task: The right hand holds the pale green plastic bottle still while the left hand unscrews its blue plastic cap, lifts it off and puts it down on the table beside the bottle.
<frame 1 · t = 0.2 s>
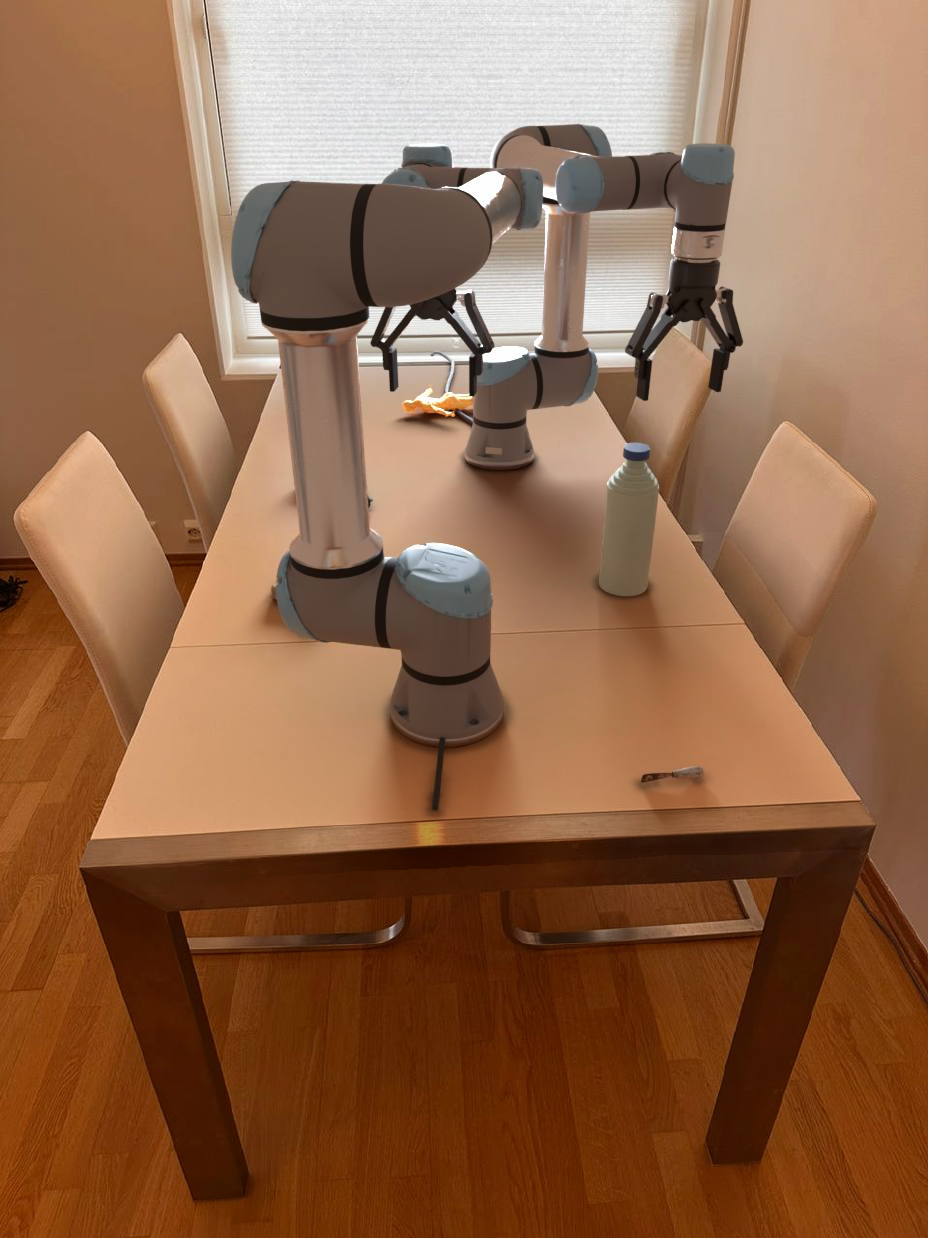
left hand: (433, 391, 149), 28 cm above the table, tool pointing down, fingers open, 13 cm apart
right hand: (678, 394, 148), 28 cm above the table, tool pointing down, fingers open, 13 cm apart
handgun: (337, 495, 182), on the table
putty knife: (671, 781, 109), on the table
bottle: (622, 584, 150), on the table
stone: (310, 598, 147), on the table
human figure: (450, 410, 226), on the table
cap: (636, 449, 138), point 24 cm above the table, screwed on, not yet turned
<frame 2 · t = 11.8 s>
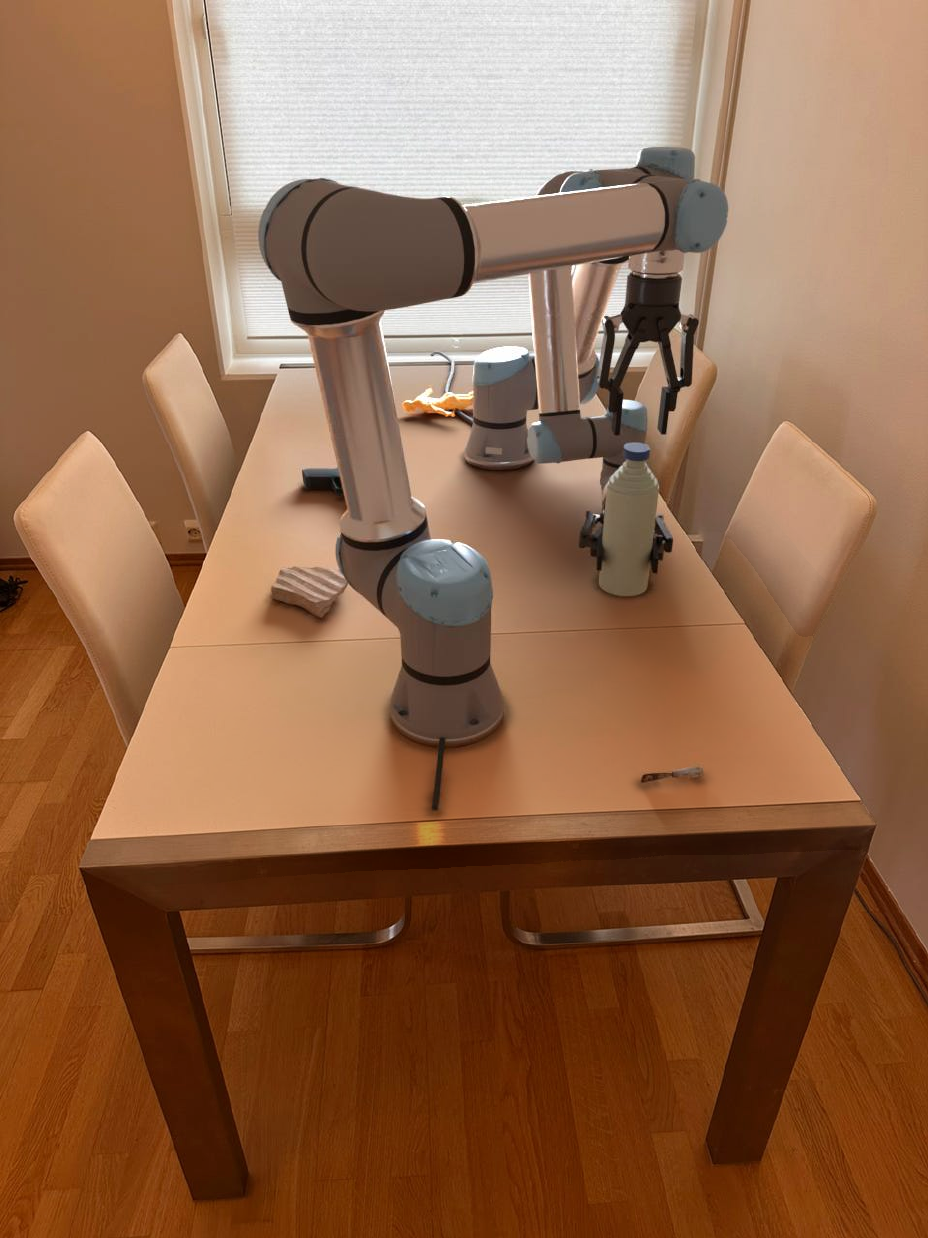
left hand: (638, 431, 136), 27 cm above the table, tool pointing down, fingers open, 6 cm apart
right hand: (627, 564, 143), 6 cm above the table, tool horizontal, fingers closed on bottle, 8 cm apart
bottle: (622, 584, 150), on the table, touching right hand
everything else where it was.
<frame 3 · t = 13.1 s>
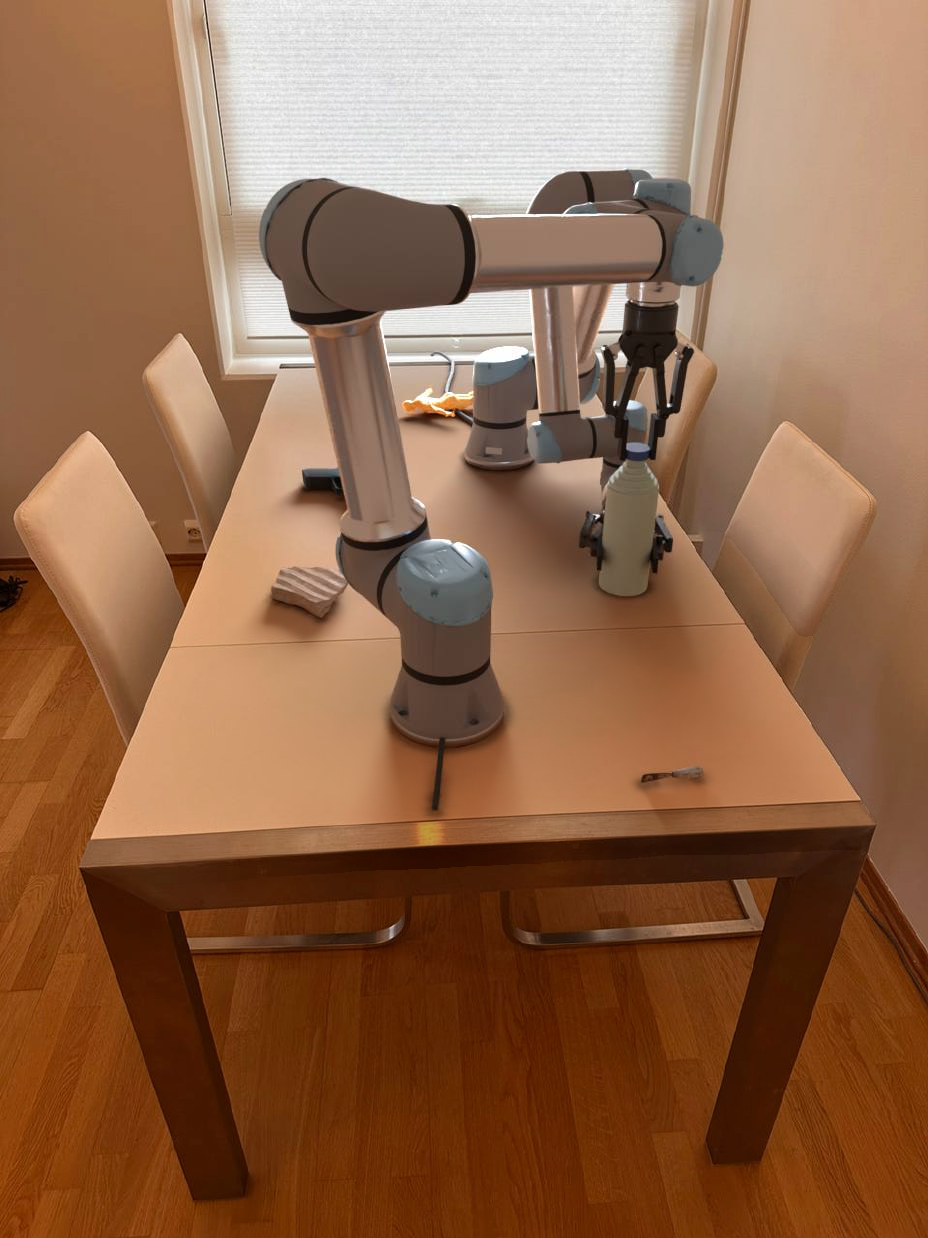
left hand: (636, 456, 138), 23 cm above the table, tool pointing down, fingers closed on cap, 4 cm apart
right hand: (627, 564, 143), 6 cm above the table, tool horizontal, fingers closed on bottle, 8 cm apart
bottle: (622, 584, 150), on the table, touching right hand
cap: (636, 449, 138), point 24 cm above the table, screwed on, not yet turned, touching left hand
everything else where it was.
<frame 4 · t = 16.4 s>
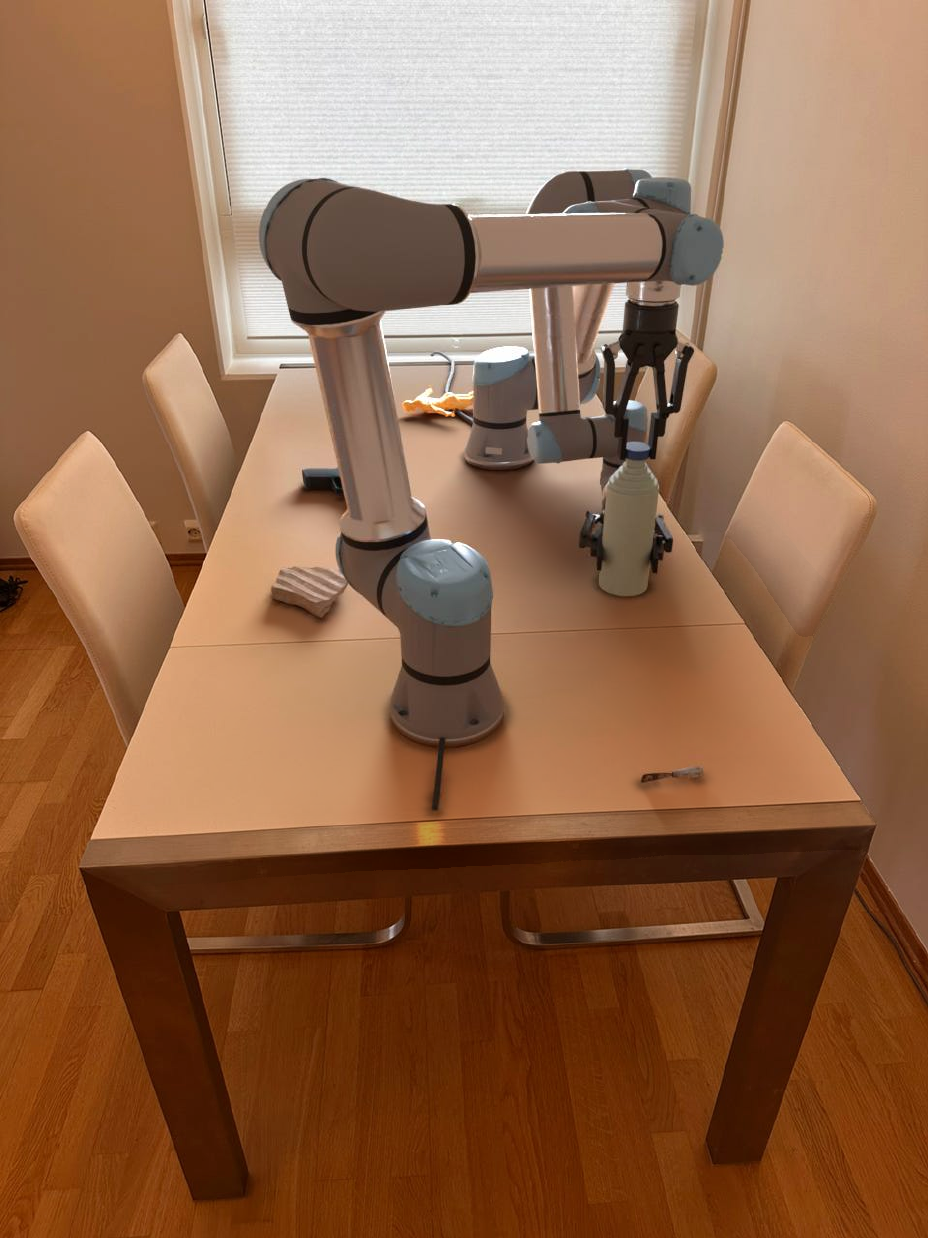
left hand: (636, 456, 138), 23 cm above the table, tool pointing down, fingers closed on cap, 4 cm apart
right hand: (627, 564, 143), 6 cm above the table, tool horizontal, fingers closed on bottle, 8 cm apart
bottle: (622, 584, 150), on the table, touching right hand
cap: (636, 448, 138), point 24 cm above the table, turned 95° so far, risen 0.1 cm, still on its thread, touching left hand
everything else where it was.
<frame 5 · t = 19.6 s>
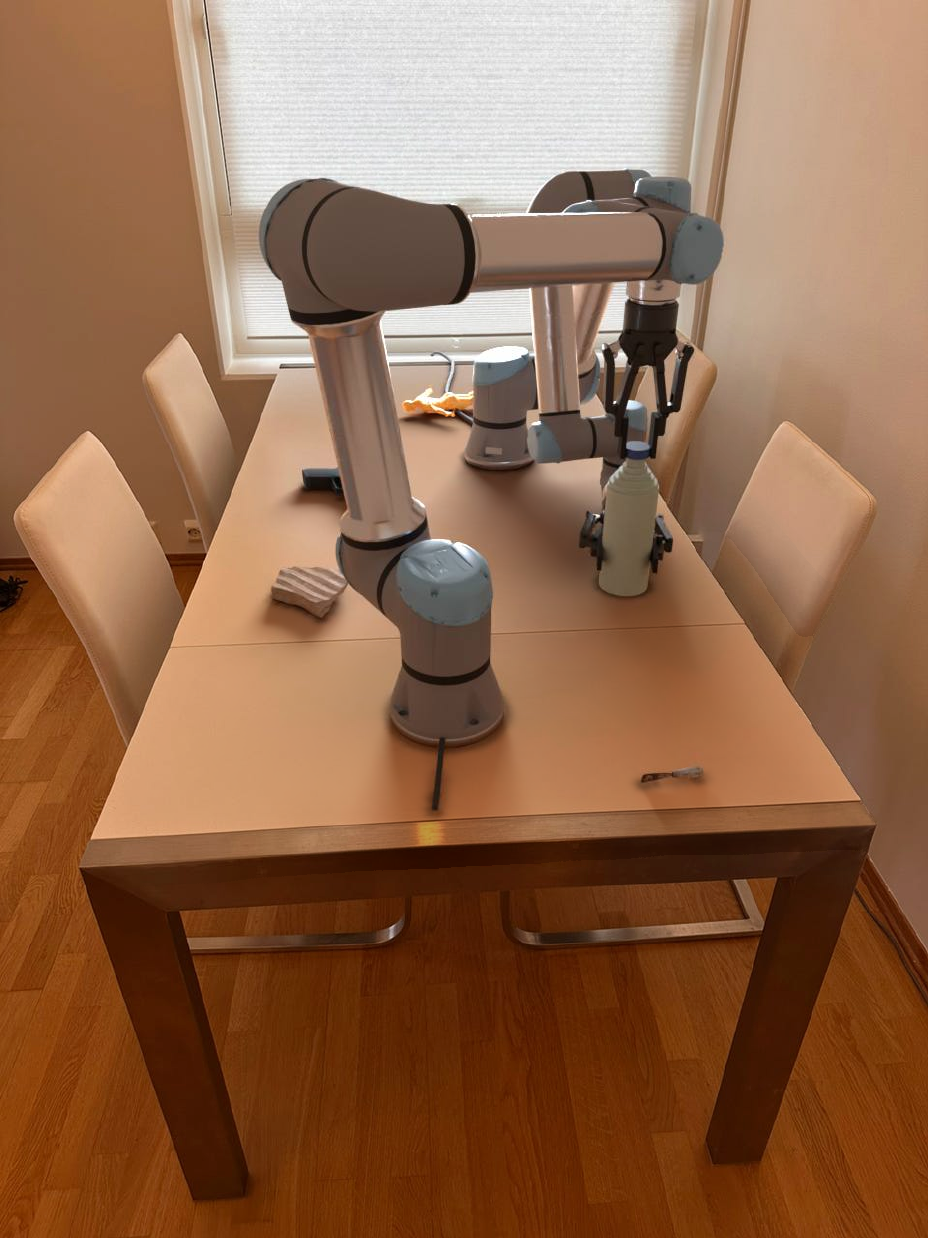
left hand: (636, 455, 138), 23 cm above the table, tool pointing down, fingers closed on cap, 4 cm apart
right hand: (627, 564, 143), 6 cm above the table, tool horizontal, fingers closed on bottle, 8 cm apart
bottle: (622, 584, 150), on the table, touching right hand
cap: (637, 447, 138), point 24 cm above the table, turned 190° so far, risen 0.2 cm, still on its thread, touching left hand
everything else where it was.
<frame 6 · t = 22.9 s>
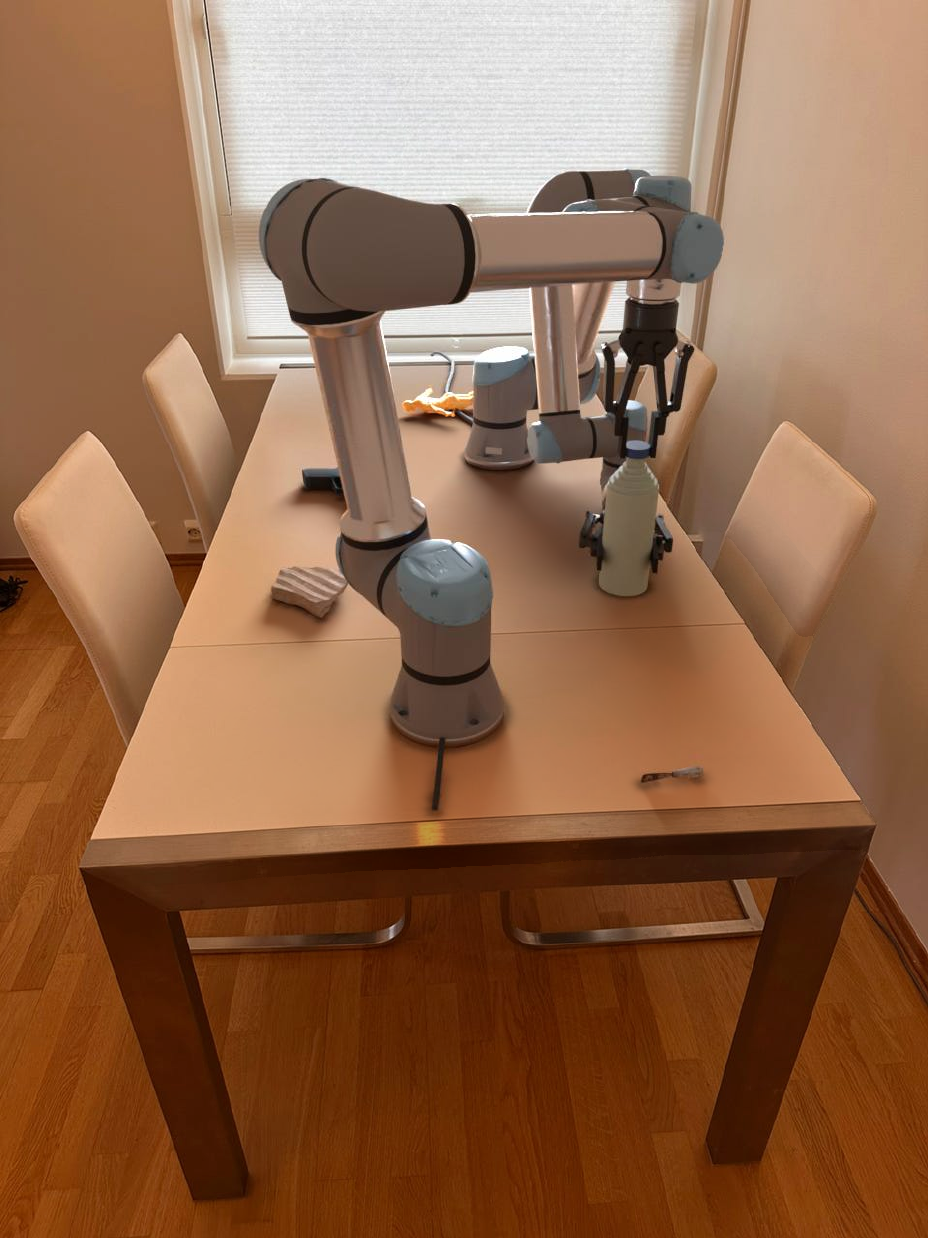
left hand: (636, 454, 138), 23 cm above the table, tool pointing down, fingers closed on cap, 4 cm apart
right hand: (627, 564, 143), 6 cm above the table, tool horizontal, fingers closed on bottle, 8 cm apart
bottle: (622, 584, 150), on the table, touching right hand
cap: (637, 446, 138), point 24 cm above the table, turned 286° so far, risen 0.3 cm, still on its thread, touching left hand
everything else where it was.
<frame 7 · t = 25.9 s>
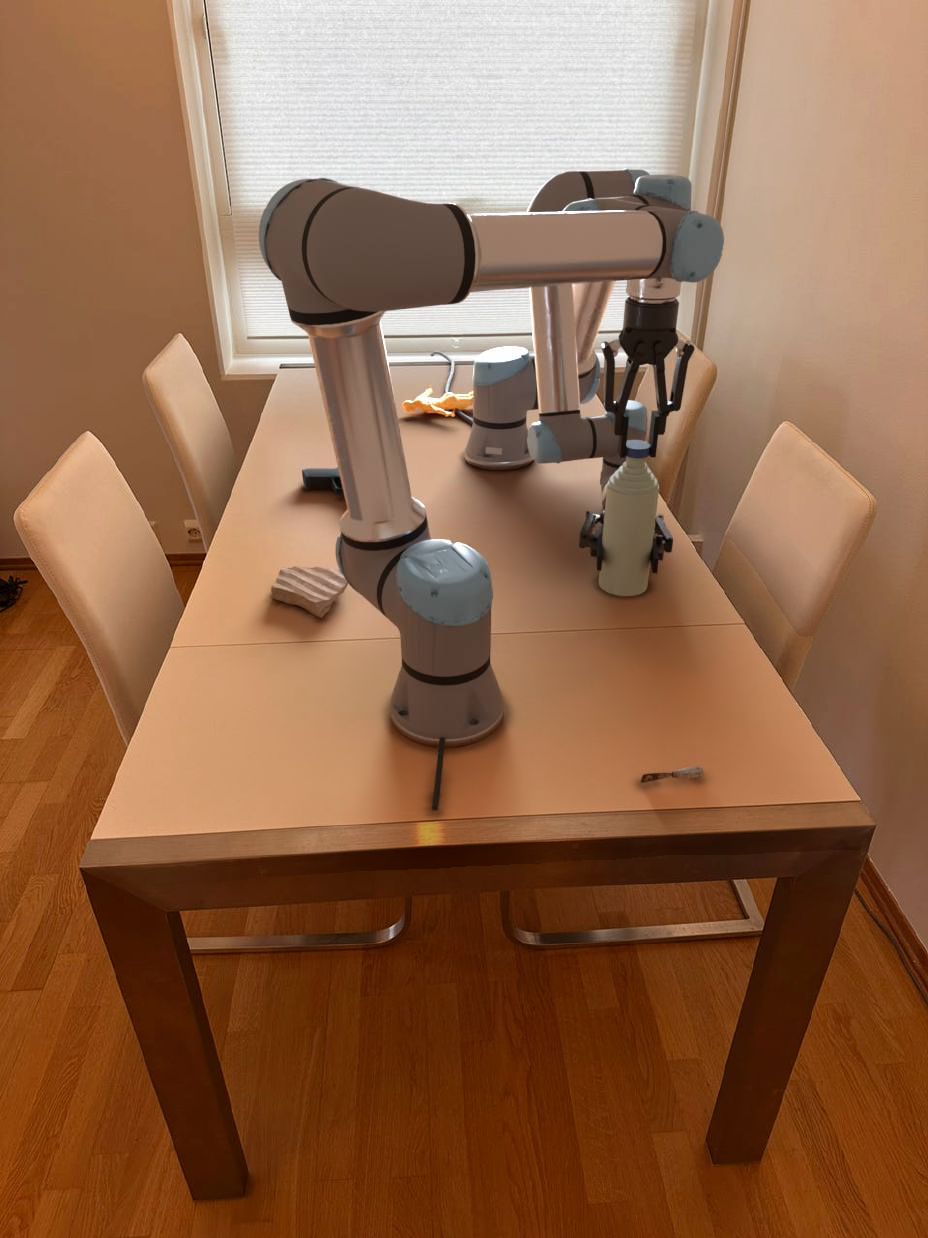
left hand: (636, 453, 138), 23 cm above the table, tool pointing down, fingers closed on cap, 4 cm apart
right hand: (627, 564, 143), 6 cm above the table, tool horizontal, fingers closed on bottle, 8 cm apart
bottle: (622, 584, 150), on the table, touching right hand
cap: (637, 446, 137), point 24 cm above the table, turned 381° so far, risen 0.4 cm, still on its thread, touching left hand
everything else where it was.
when the left hand's fingers open (1 cm above the table, at t = 32.6 s): cap drops 1 cm, point 1 cm above the table.
when the right hand's fingers open (6 cm above the table, at t = 33.9 s): bottle stays where it is, on the table.
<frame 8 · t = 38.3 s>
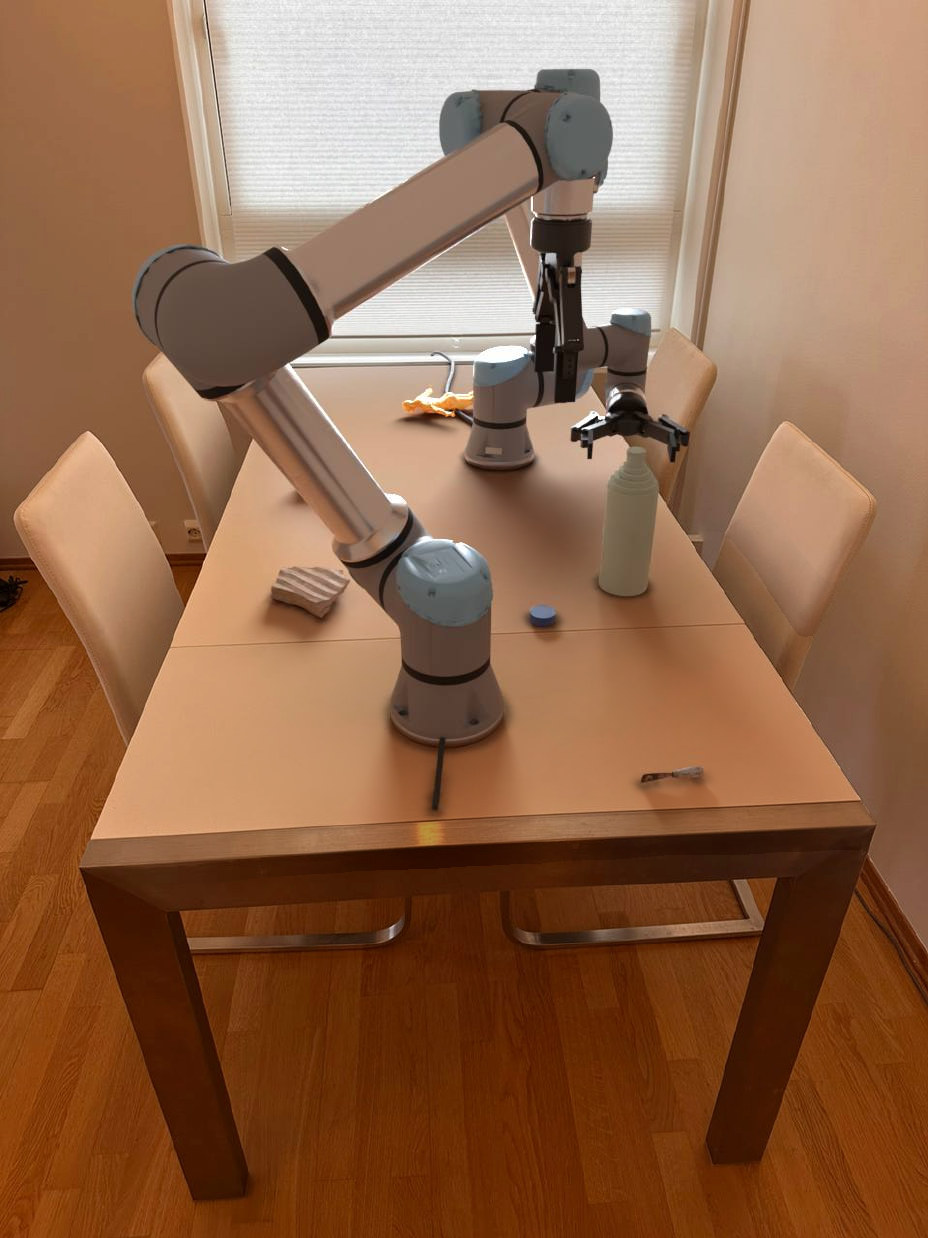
left hand: (553, 385, 121), 38 cm above the table, tool pointing down, fingers open, 13 cm apart
right hand: (631, 453, 147), 20 cm above the table, tool horizontal, fingers open, 13 cm apart
bottle: (622, 584, 150), on the table
cap: (542, 613, 140), point 1 cm above the table, off its thread
everything else where it was.
at the end: cap came off its thread; cap point 1.2 cm above the table; the left hand is holding nothing; the right hand is holding nothing; bottle tilted 0°; bottle moved 0.0 cm from its start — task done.
